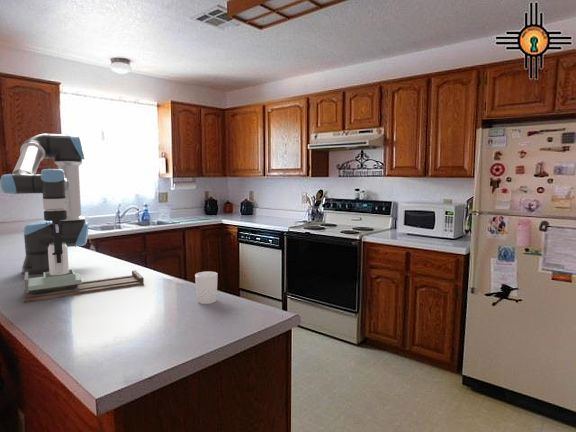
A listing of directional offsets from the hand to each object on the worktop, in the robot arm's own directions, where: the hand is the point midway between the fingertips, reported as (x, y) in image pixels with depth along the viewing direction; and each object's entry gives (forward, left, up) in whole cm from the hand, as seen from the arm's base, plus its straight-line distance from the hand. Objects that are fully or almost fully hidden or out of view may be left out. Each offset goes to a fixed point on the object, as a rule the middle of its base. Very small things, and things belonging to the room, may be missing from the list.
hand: (58, 269), depth 150 cm
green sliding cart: (0, -2, -7) cm, 8 cm away
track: (0, +9, -9) cm, 13 cm away
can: (0, 0, -2) cm, 2 cm away
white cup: (+42, +43, -9) cm, 61 cm away
